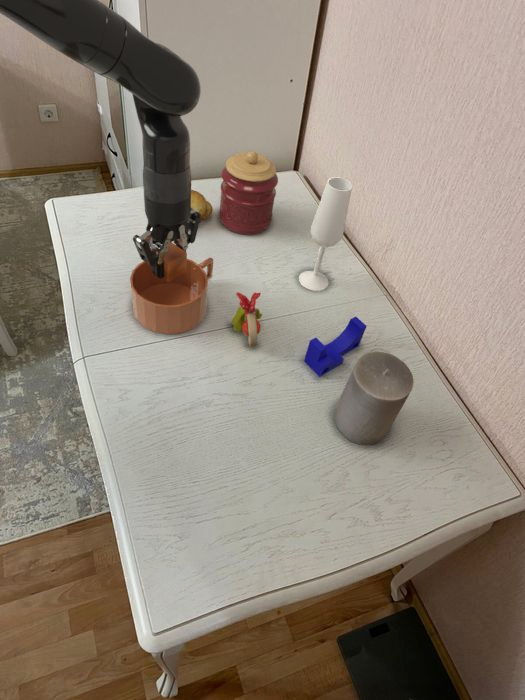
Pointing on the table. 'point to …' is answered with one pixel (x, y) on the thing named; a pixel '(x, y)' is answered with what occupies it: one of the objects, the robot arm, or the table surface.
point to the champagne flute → (328, 227)
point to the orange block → (174, 262)
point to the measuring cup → (170, 298)
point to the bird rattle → (248, 318)
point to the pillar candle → (373, 397)
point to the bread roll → (200, 205)
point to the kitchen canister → (247, 193)
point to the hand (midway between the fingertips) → (169, 269)
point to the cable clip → (334, 348)
